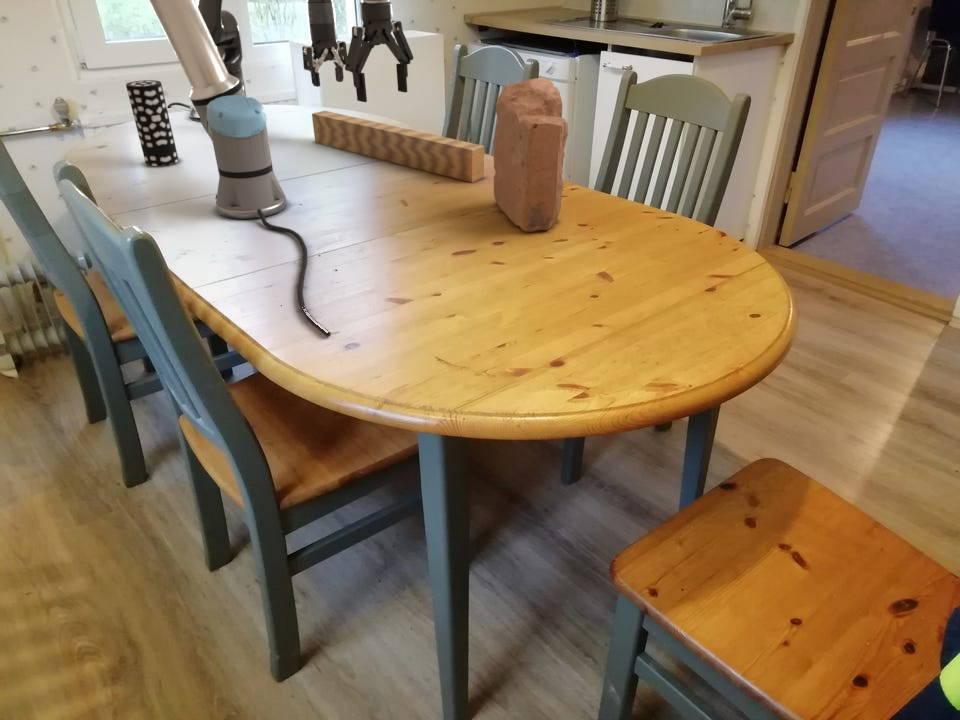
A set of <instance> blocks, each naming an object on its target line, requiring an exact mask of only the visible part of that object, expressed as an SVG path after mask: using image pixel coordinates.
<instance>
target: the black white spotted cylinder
mask: <svg viewBox="0 0 960 720" xmlns="http://www.w3.org/2000/svg"><path fill="white" fill-rule="evenodd" d="M125 87H126V91H127V95H128V99H129V103H130V107H131V110H132V115H133V118H134V122H135V123H134V124H135V127H136V130H137V134H138V139H139V143H140V146H141V150H142V155H143V158H144V163H145V164H146V165H147V166H151V167H164V166H170V165H174V164H176V163H178V162H179V155H178V150H177V146H176V142H175V137H174V133H173V128H172V125H171V121H170V116H169V111H168V108H167V107H168V105H167V103H166V98H165V93H164V89H163V84H162V81H161V80H155V79H154V80H153V79H151V80H150V79H145V80H144V79H141V80H134V81H130V82H129V81H128V82H127V83H126V84H125Z"/></svg>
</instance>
